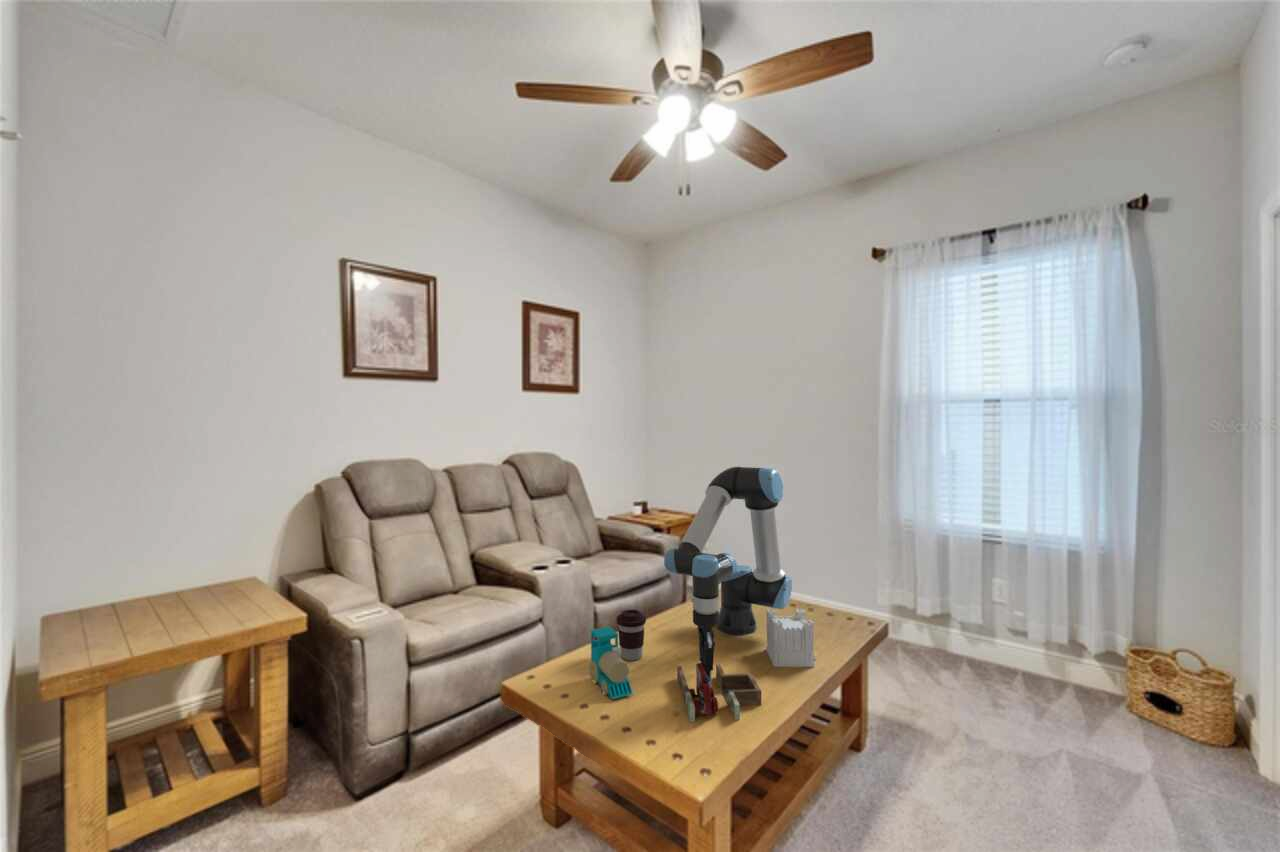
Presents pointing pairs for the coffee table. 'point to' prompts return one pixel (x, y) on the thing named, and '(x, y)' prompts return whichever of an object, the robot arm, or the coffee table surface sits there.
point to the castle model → (790, 640)
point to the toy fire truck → (703, 693)
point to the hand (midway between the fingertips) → (706, 690)
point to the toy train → (608, 664)
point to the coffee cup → (631, 634)
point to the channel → (687, 697)
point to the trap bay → (742, 689)
